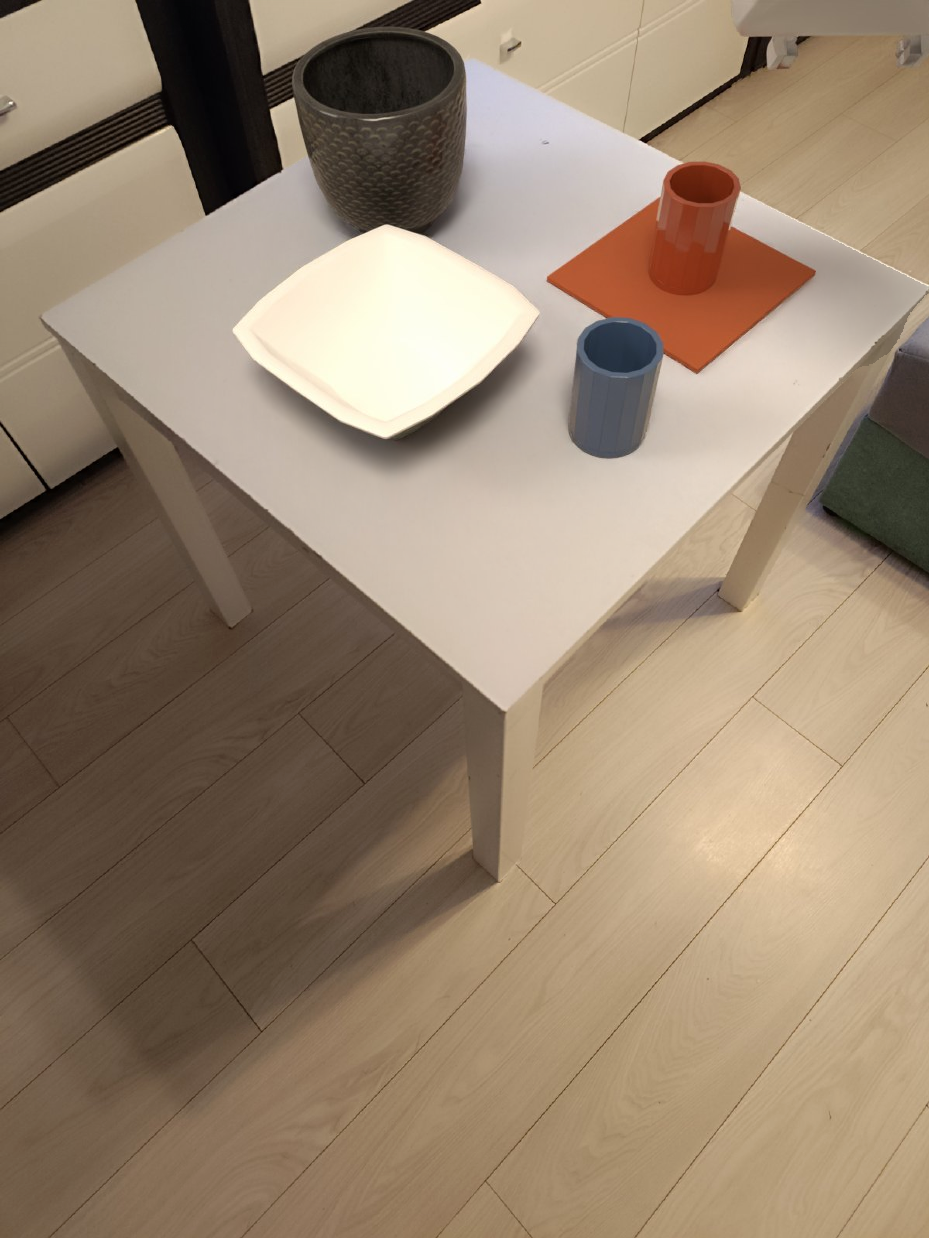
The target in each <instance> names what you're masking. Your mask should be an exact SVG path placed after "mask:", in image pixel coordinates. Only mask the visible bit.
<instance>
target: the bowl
mask: <svg viewBox="0 0 929 1238" xmlns="http://www.w3.org/2000/svg"><path fill="white" fill-rule="evenodd" d="M540 314H541V312H540V310H539V309H538V308H537V307H536V306H534V304H533V303H532V302H531V301H529V299H527V297H526V296H524V295H523V294H522V293H521V292H520V291H519V290H518V289H517V288H516V287H515V286H513V285H512V284H511V283H509V282H507V281H505V280H504V279H502V278H500V276H497V275H495V274H493V273H492V272H490V271H489V270H487V269H485V268H483V267H481V266H480V265H478V264H476V263H474V262H473V261H471V260H469V259H468V258H465V257H464V256H463V255H461V254H458V253H457V252H455V251H453V250H452V249H450V248H448V247H446V246H444V245H443V244H440V243H438V242H437V241H435V240H433V239H431V238H430V237H428V236H426V235H423V234H417V233H413V232H410V231H407V230H404V229H401V228H397V227H394V226H391V225H383V226H380V227H378V228H376V229H373V230H371V231H369V232H366V233H364V234H363V233H362V234H360V235H357V236H355V237H353V238H350V239H349V240H346V241H344V242H342V243H341V244H339V245H337V246H336V247H334V248H332V249H330V250H328V251H327V252H325V253H323V254H321V255H319V256H318V257H317V258H315V259H313V260H312V261H310V262H308V263H306V264H305V265H303V266H301V267H299V268H298V270H296V271H294V273H292V274H291V275H290V276H288V277H287V278H286V279H285V280H283V281H282V282H280V283H279V284H277V286H276V287H274V288H273V289H272V290H270V291H269V292H268V293H267V294H265V295H264V296H263V297H261V298H260V299H259V300H258V301H257V302H256V303H255V305H253V307H252V308H251V309H249V311H248V312H247V313H246V314H245V315H243V317H242V318H241V319H240V320H239V322H238V323H237V324H235V326H234V327H232V333H233V336H235V338H236V339H237V340H238V341H239V343H240V344H241V345H242V347H243V348H244V349H245V351H246V352H247V353H248V355H249V356H250V357H251V359H252V361H253V362H255V363H256V364H258V365H260V366H261V367H262V368H263V369H265V370H266V371H268V372H269V373H270V374H272V376H274V377H276V379H278V380H280V381H281V382H282V383H284V385H287V386H288V387H289V388H291V389H292V390H293V391H295V392H296V393H297V394H299V395H300V396H302V397H304V398H305V399H307V401H309V402H311V403H312V404H314V405H315V406H317V407H318V408H319V409H321V410H323V411H324V412H325V413H327V415H330V416H331V417H332V418H334V419H336V420H337V421H338V422H340V423H342V424H344V425H347V426H349V427H353V428H355V429H357V430H360V431H362V432H365V433H367V434H370V435H372V436H375V437H378V438H381V439H383V440H387V439H389V440H391V441H397V440H400V439H403V438H404V437H406V436H408V435H410V434H412V433H414V432H416V431H418V430H420V428H422V427H424V426H425V425H426V424H428V423H429V422H430V421H432V420H433V419H435V418H437V417H438V416H439V415H440V414H441V413H442V412H443V411H444V410H445V409H446V408H447V407H448V406H449V405H451V404H453V403H454V402H455V401H457V400H458V399H460V398H461V397H462V396H464V395H465V394H467V393H469V391H471V390H472V389H474V388H475V387H477V386H478V385H479V384H481V383H482V382H483V381H484V380H485V379H486V378H487V377H488V376H489V375H490V374H491V373H492V372H493V371H494V370H495V369H496V368H497V367H498V366H499V365H501V363H502V362H503V361H504V360H506V359H507V358H508V356H509V355H511V354H512V352H513V351H515V349H517V348H518V347H519V345H520V344H521V342H522V341H523V340H524V338H525V337H526V335H527V334H528V333H529V331H531V328H532V327H533V326H534V324H535V323H536V321H537V320H538V319H539V317H540Z"/></svg>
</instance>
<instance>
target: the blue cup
mask: <svg viewBox="0 0 929 1238" xmlns="http://www.w3.org/2000/svg"><path fill="white" fill-rule="evenodd" d="M663 359H664V353H663V342H662V340H661V338H660V337H659V335H658V333H657V332H656V331H655V330H653V329H652V328H651V327H649V326H648V325H647V324H645V323H643V322H640V321H637V320H634V319H631V318H621V317H611V318H603V319H599V320H596V321H594V322H593V323H591V324H589V325H587V326H586V327H584V329H583V330H582V332H581V333H580V335H579V336H578V337H577V342H576V350H575V360H574V368H573V369H574V370H573V381H572V387H571V388H572V389H571V400H570V408H569V418H568V419H569V421H568V433H569V437H570V438H571V440H572V442H573V443H574V444H575V446H576V447H577V448H579V449H580V450H581V451H582V452H584V453H586V454H588V455H590V456H593V457H597V458H601V459H617V458H621V457H625V456H628V455H630V454H632V453H634V452H635V451H636V450H637V449H639V447H641V445H642V444H643V442H644V440H645V437H646V434H647V432H648V428H649V423H650V419H651V414H652V410H653V406H654V405H653V404H654V401H655V400H654V399H655V396H656V391H657V386H658V381H659V377H660V373H661V367H662V363H663Z"/></svg>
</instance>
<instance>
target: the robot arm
mask: <svg viewBox="0 0 929 1238" xmlns="http://www.w3.org/2000/svg"><path fill="white" fill-rule="evenodd" d="M730 10H731V11H730V13H731V21H732V24H733V26H734V28H735V30H736V32H737V33H738V35H739V36H741V37H744V38H753V37H754V38H755V37H771V39H770V41H769V42H768V44H767V47H766V67H767V70H786V69H787V70H788V69H790V68H791V67H792V64H793V63H795V60H796V59H797V58H798V56H799V51H798V50H799V49H798V45H797V43H796V42H797V41H798V37H843V36H844V37H848V36H850V37H852V36H853V37H855V36H902V38H901V39H899V40H898V42H897V43H896V46H895V48H894V49H895V50H894V56H895V58H896V60H895V67H896V68H901V69H902V68H903V69H910V68H911V69H917V68H919V67H920V65H921V64H922V63H923V62H924V61H925V60H926V59H927V58H928V57H929V0H730Z"/></svg>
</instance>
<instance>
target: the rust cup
mask: <svg viewBox="0 0 929 1238" xmlns="http://www.w3.org/2000/svg"><path fill="white" fill-rule="evenodd" d="M741 190H742V187H741V182H740V178H739V177H738V175H736V173H734V171H732V170H731V169H729V168H727V167H725V166H724V165H721V164H719V163H715V162H711V161H710V162H709V161H704V160H703V161H687V162H684V163H680V164H677V165H676V166H674V167H673V168H671V169H670V170H668V171H667V173H666V174H665V176H664V178H663V181H662V186H661V191H660V196H661V197H660V196H659V197H660V202H659V208H658V214H657V219H656V225H655V231H654V236H653V242H652V247H651V253H650V259H649V268H648V274H649V277H650V279H651V281H652V282H653V283H654V284H655V285H656V286H657V287H659V288H660V289H662V290H664V291H666V292H668V293H672V294H676V295H695V294H699V293H702V292H704V291H706V290H708V289H709V288H711V287H712V286H713V284H714V283H715V281H716V279H717V276H718V272H719V270H720V266H721V262H722V259H723V255H724V251H725V247H726V243H727V239H728V236H729V232H730V228H731V226H732V224H733V221H734V217H735V213H736V209H737V205H738V201H739V197H740V194H741Z"/></svg>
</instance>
